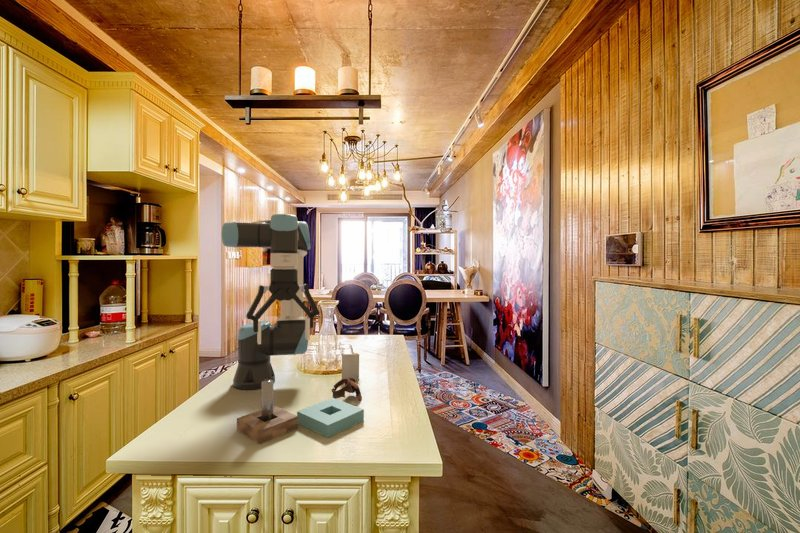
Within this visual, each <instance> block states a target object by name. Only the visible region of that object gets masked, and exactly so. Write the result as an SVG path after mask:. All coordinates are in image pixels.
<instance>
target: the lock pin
mask: <svg viewBox="0 0 800 533" xmlns="http://www.w3.org/2000/svg"><path fill="white" fill-rule="evenodd" d="M273 406H274V383H273V380H271V379H267V380H263V381H262V388H261V410H262V421H264V422H266V421H269V420H272V419H273Z"/></svg>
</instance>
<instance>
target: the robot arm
mask: <svg viewBox="0 0 800 533" xmlns="http://www.w3.org/2000/svg"><path fill="white" fill-rule="evenodd" d="M309 229H310V228H309V225H308V222H306V221H302V220H301V221H299V220H298V217H297V215H295V214H289V213H275V214H272V215H271V216H270V219H268V220H267V219H265V220H260V221H253V222H236V221H229V222H228V221H227V222H224V223H223V224H222V226H221V241H222V244H223V246H225V247H226V248H264V249H270V263H269V264H270V267H271V269H270V271H269V272H270V277H269V278H270V282H269V286H268V285H262V284H259V286H258V289H257V290H258V291H257V294H256V296H255V298H254V300H253V301H252V304H250V307H249V309H248V310H247V311H248V312H246V319H248V320H250V321H252V322H250V323H246V324H243V325H242V326H239V328H238V332H237V333H238V334H237V359H238V360H237V367H236V369H235V370H236V371H235V373H234V376H233V379H232V386H233V387H234V388H235V389H238V390H250V391H251V390H257V389H259V390H260V389H262V381H263V380H267V379H271V380H273V384H274V383H275V382H276V375H275V371H274V369H273V366H272V363H271V356H273V357H274V356H292V355H293V356H296V355H303V354H306V352H307V351H308V345H309V341H310V340H311V339H310V337H311V334H310V333H311V329H313V328H314V318H315V316H319V315H320V313H321V312H320V310H319V308H318V306H317V305H316V302H315V301H314V299H313V297H312V295H311V293H310V287H309V285H308V284H307V283H304V259H305V258H304V257H305V256H307V255H308V251H309V250H311V249H312V248H311V247H312V245H311V238H310V237H311V236H310V230H309ZM267 291H269V293H270V294H271V295H270V296H269V298H268V299H267V300H266V301H265V303H263V305H262V306H261V307H260V308H259V309H258V310H257V308H258V306H259V304H260V302H261V300H262V298H263V296H264V294H267ZM304 296H305V298H306V300H307V302H308V304H309V306H310V308H311V309H312V311H311V310H310V309H309V308H308V306H307V305H306V304H305V303H304ZM275 301H279V302H280V316H279V317H278V318H277V320H276V324H274V325H272V324H271V322H270V321H269V320H267V321H265V320H263V321H262V320H261V319H260V318H261V317H262V316H263V315H264V314H265V313H266V311H267V310H268V309H269V308H270V307H271V305H272V304H274V303H275ZM256 310H257V311H256ZM255 312H256V313H255ZM304 313H305V314H306V315H307V316H304Z"/></svg>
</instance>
